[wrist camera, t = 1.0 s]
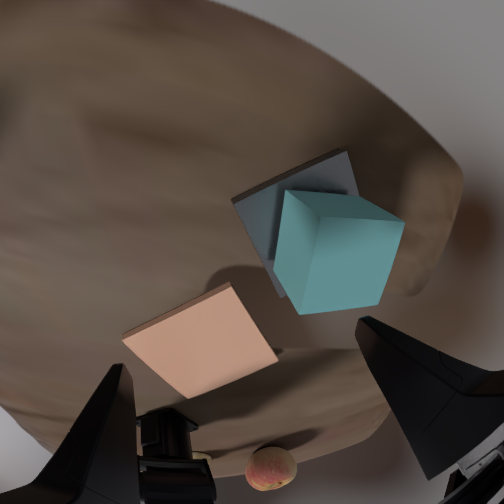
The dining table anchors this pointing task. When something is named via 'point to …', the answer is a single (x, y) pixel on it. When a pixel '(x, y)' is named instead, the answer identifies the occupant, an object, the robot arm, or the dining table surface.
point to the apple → (270, 468)
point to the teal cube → (334, 250)
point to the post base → (272, 198)
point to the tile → (203, 343)
